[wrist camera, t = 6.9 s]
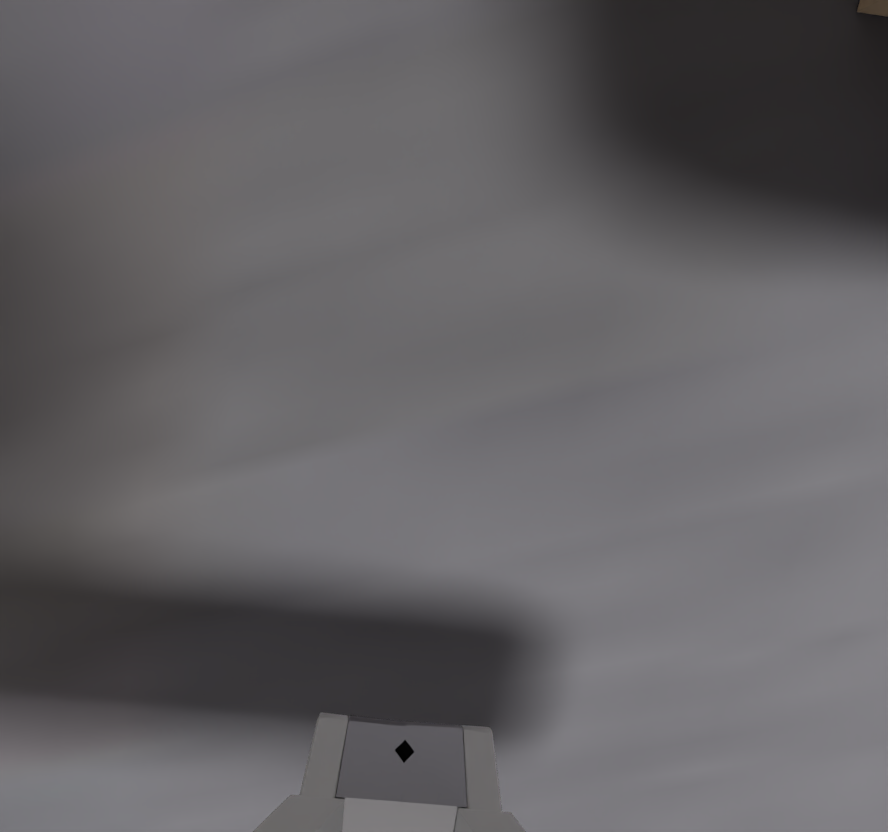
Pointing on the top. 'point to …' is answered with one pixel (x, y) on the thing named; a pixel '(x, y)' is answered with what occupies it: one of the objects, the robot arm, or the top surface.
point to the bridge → (873, 7)
